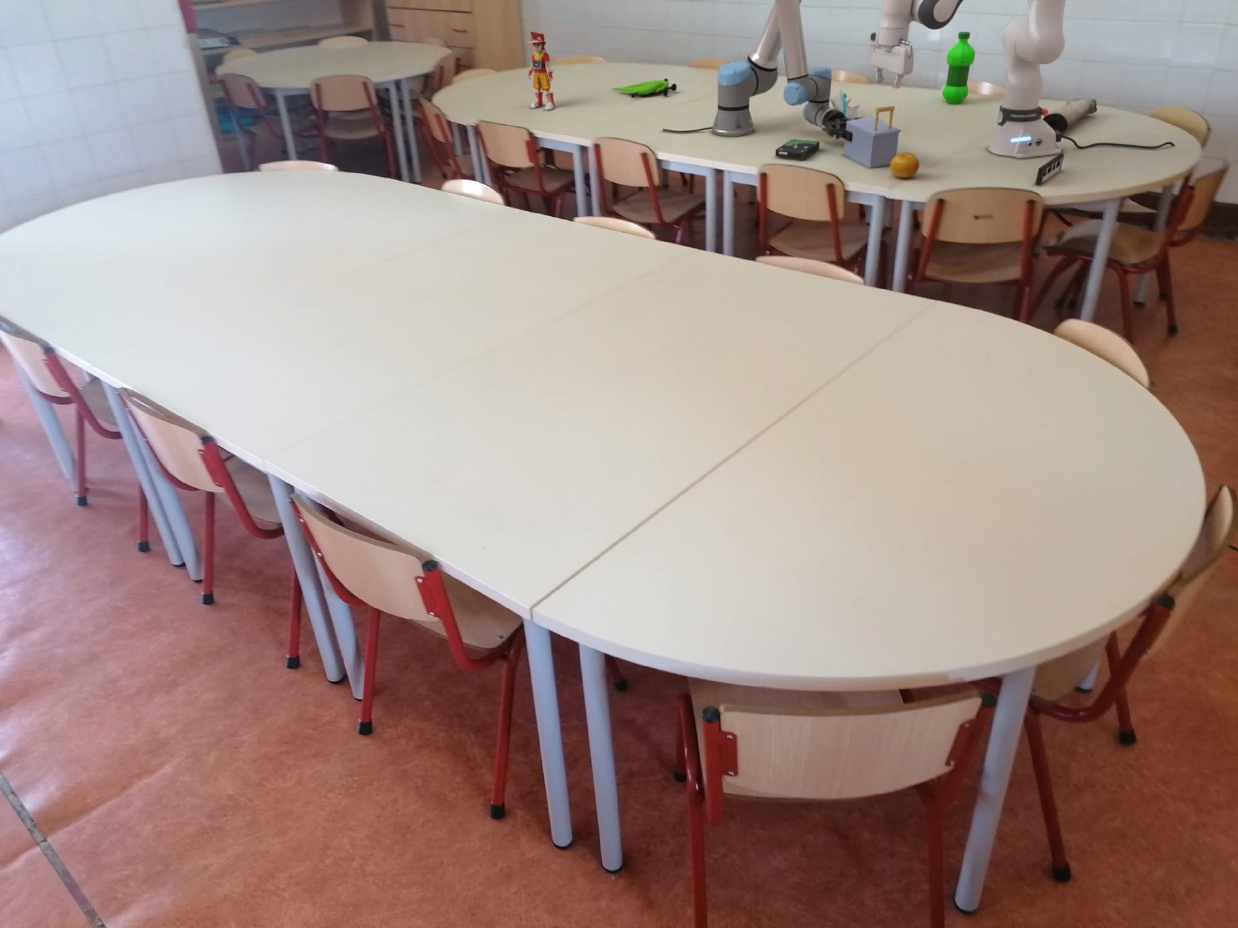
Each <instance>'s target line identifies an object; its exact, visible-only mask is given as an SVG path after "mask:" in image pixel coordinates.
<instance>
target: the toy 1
mask: <svg viewBox="0 0 1238 928" xmlns="http://www.w3.org/2000/svg"><path fill="white" fill-rule="evenodd" d="M529 33H530V35H531V36H528V37H527V38H528V39H529V40H528V41H527V43H529V44H530V43H531V44H532V48H533V50H534V51H533V52H532V55H531V58H530V59H531V63H530V66H528V74H527V75H528V76H527V77H528V79H529V80H531V75H532V74H533V84H532V85H533V86H532V87H533V88H534V89H535V90H536V92H534V95H535V97H536V100H535V101H533V102H531V105H530V108H531V109H535V108H538V107H542V106H544V101H543V100H544V99H543V95H544V92H546V94H545V97H546V99H547V103H546V104H545V106H544V110H546V111H549V110H553V109H554V107H555V106H556V105H555V99H554V92H551V91H550V90H551V86H552V84H551V82H552V81H553V80H554V77H553V73H554V71H555V70H554V69H552V68H551V63H550V61H551V59H550V58H551V57H550V54H549V53H548V52H547V50H546V48H545V46H546V44H547V41H545V35H544V33H543V32H542V33H539V32H535V31H529Z"/></svg>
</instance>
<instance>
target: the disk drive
mask: <svg viewBox="0 0 1238 928" xmlns="http://www.w3.org/2000/svg"><path fill="white" fill-rule="evenodd" d="M820 145H821V142H820V141H818V140H810V139H798V138H797V139H796V138H793V139H790V140H789V141H787V142H785V143H784V144H782V145H780V146H779V147H777V148H776V149H775V152H774V153H775V154H774V155H775V157H777V158H782V159H789V160H800V161H802V160H805V159H807V158H808V157H809V156H810V155H812V154H814V153H815V152H817V151H818V150H819V149H820Z"/></svg>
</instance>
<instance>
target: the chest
mask: <svg viewBox="0 0 1238 928" xmlns="http://www.w3.org/2000/svg"><path fill="white" fill-rule="evenodd" d="M846 130H847V131H849V132H852V133H853V134H852V141H851V142H850V141H847V140H845V139H844V147H843V156H845V157H847V158H849V159H851V160H853V161H855V162H857V163H859V164H861V165H862V166H865V167H867V168H869V169H873V168H878V167H885V166H890V165H891V161H892V159H893V158H894V157H895V156H896V155H897V154H898V153H897V152H898V145H899V144H898V143H899V136H900V132H899V133H893V134H886V135H880V136H873V135H871V134H869V133H867V132H864V131H862V130H860V129H858V128H856V127H853V126H851V125H849V124H846Z"/></svg>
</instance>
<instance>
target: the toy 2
mask: <svg viewBox="0 0 1238 928" xmlns="http://www.w3.org/2000/svg"><path fill="white" fill-rule="evenodd" d="M669 85H670V83H669V79H668V78H664V79H663V80H649V81H644V82H640V83H634V84H629V85H627V86H621V87H613V88H612V89H613V90H616V91H619V92H623V93H627V94H628V93H629V94H631V95H630V96H631V98H632V99H634V98H636V96H637V95H650V94H652V93H654V94H658V93H662V95H663V96H665V97H667V96H668V95H669V90H671V91H672V92H676V91H677V84H676V83H672V84H671V86H669Z"/></svg>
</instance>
